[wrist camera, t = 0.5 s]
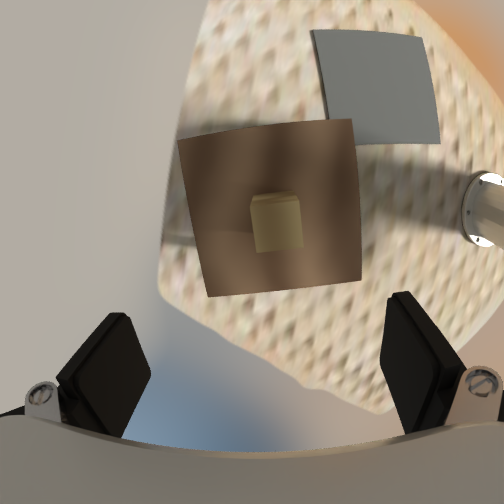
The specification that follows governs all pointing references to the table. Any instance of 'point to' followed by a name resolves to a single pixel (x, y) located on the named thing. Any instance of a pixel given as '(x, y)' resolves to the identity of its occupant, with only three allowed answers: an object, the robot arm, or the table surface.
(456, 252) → the table surface
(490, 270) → the table surface
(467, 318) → the table surface
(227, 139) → the cover
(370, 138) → the mat
